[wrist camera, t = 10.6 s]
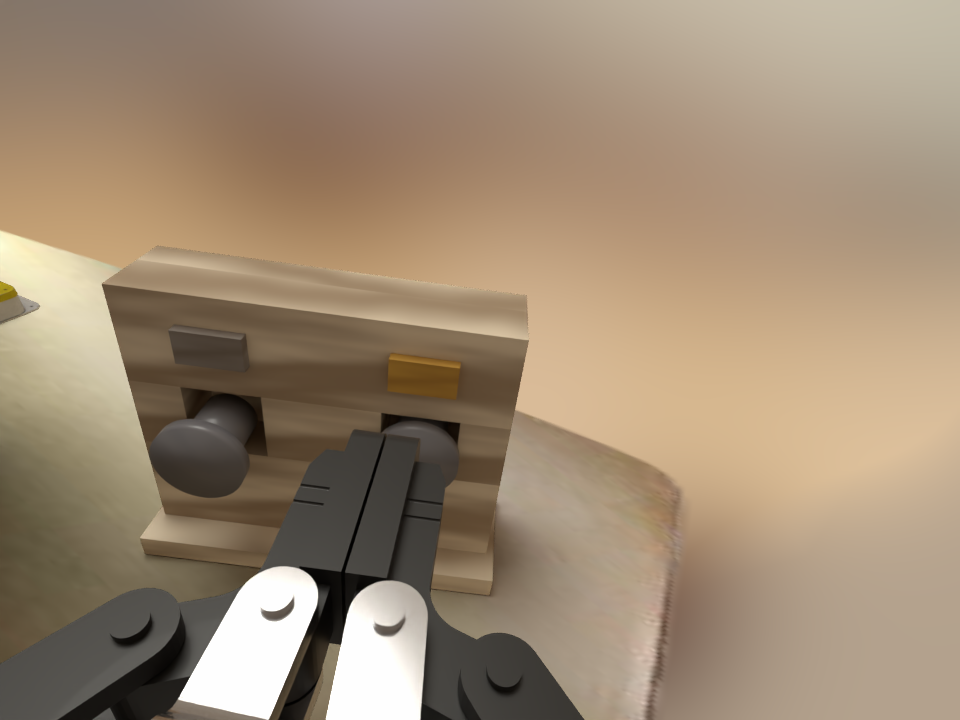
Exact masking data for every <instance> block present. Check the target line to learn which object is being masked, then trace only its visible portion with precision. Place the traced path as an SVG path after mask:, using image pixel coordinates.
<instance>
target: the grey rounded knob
mask: <svg viewBox="0 0 960 720" xmlns="http://www.w3.org/2000/svg"><path fill="white" fill-rule="evenodd" d="M448 425H449V422H448V421H440V420H433V419H425V418H417V417H409V416H402V415H400V417H399V421H398V423H396V424H393V425H391V426H389V427H388V428H386V429H385V430H384V431H383V432H382V433H386V434H387V436H388V434H393V435H400V436H407V437H415V438H420V440H421V442H420V455H419V462H424V463H431V464H439V465H440V467H441V470H442V473H443V476H444V479H445V482H446V487H447V486H449V485H450V484H451V483H452V482H453V480H454V479H455V477H456V475H457V472H458V466H459V456H460V455H459V449H458V446H457V444H456V442H455V441H454V439H453V438H452V437H451V436H450V435H449V434H448V433H447V432H448Z"/></svg>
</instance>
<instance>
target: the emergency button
mask: <svg viewBox="0 0 960 720" xmlns="http://www.w3.org/2000/svg"><path fill="white" fill-rule="evenodd" d="M39 307H40V305H39V304H38V303H36V302H34V301H31V300H29V299H26V298H24V297H22V296H19V295H17V292H16V290H15V289H14V287H12V286H11V285H8V284H6V283H3V282H1V281H0V324H2V323H4V322H7V321H10V320H12V319H15V318H18V317H20V316H23V315H26V314H28V313H31V312H33V311H35V310H37V309H39Z"/></svg>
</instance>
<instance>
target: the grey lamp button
mask: <svg viewBox="0 0 960 720" xmlns="http://www.w3.org/2000/svg"><path fill="white" fill-rule="evenodd" d="M257 422H258V417H257V414H256V411H255V409H254V408H253V407H252V406H251V404H249V403H248V402H247V401H246V400H244V399H243V398H241V397H239V396H236V395H233V394H226V393H223V394H217V395H214V396H212V397H211V398H210V399H209V400H208V401H207V402H206V404H205V405H204V406H203V407H202V409H201V410H200V411H199V413H198V414H197V415H196V417H195V418H194V419H183V420H177V421H174V422H172V423H170V424H168V425H166V426H165V427H164V428H163V429H162V430H161V432H160V433H159V434H158V435H157V436H156V438H155V439H154V440H153V442H152V443H151V445H150V449H149V456H150V461H151V463H152V465H153V467H154V469H155V470H156V472H157V473H158V474H159V475H160V476H161V477H162V478H163V479H164V480H165V481H166V482H167V483H169V484H170V485H172V486H173V487H175V488H176V489H178V490H180V491H182V492H185V493H187V494H190V495H194V496H198V497H203V498H219V497H224V496H227V495H230V494H232V493H234V492H235V491H236V490H237V489H238V488H239V487H240V486H241V484H242V482H243V480H244V479H245V477H246V475H247V473H248V471H249V468H250V459H249V455H248V453H247V451H246V449H245V447H244V445H245V443H246V442H247V440H248V438H249V437H250V435H251V434H252V432H253V430H254V429H255V427H256V425H257Z"/></svg>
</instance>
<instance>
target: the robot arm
mask: <svg viewBox="0 0 960 720" xmlns="http://www.w3.org/2000/svg"><path fill="white" fill-rule="evenodd" d="M420 442H421V440H420V438H415V437H407V436H400V435H393V434H388V436H387V434H386V433H379V432H372V431H365V430H358V429H354V430H353V431H352V433H351V436H350V438H349V441H348V443H347V446H346V448H345V451H338V450H330V449H326V450H325V451H323V452H322V453H321V454H320V455H319V456H318V457H317V458H316V459H315V460H313V461H312V462H311V463H310V464H309V466H308V468H307V470H306V473H305V475H304V477H303V479H302V481H301V485H300V487H299V488H298V490H297V492H296V495H295V497H294V499H293V503H291V505H290V508H289V510H288V512H287V514H286V516H285V519H284V521H283V523H282V525H281V527H280V530H279V532H278V534H277V536H276V538H275V541H274V543H273V545H272V547H271V549H270V552H269V554H268V556H267V558H266V560H265V562H264V564H263V566H262V567H261V569H260V570H259V571H258V573H257V574H256V575H255V576H254V577H252V578H251V579H250V580H249V581H247V582H246V584H244V585H243V586H241V587H239V588H238V589H236V590H234V591H232V592H229V593H226V594H224V595H220V596H216V597H210V598H205V599H199V600H193V601H187V602H181V603H177V601H176V599H175V598H174V597H173V596H172V595H171V594H170V593H168V592H166V591H164V590H161V589H156V588H143V589H137V590H133V591H129V592H127V593H124V594H122V595H120V596H118V597H116V598H114V599H112V600H110V601H109V602H107V603H105V604H103V605H102V606H100V607H98V608H97V609H95V610H93V611H91V612H90V613H88V614H86V615H84V616H83V617H81V618H79V619H77V620H76V621H74V622H72V623H70V624H69V625H67V626H65V627H64V628H62V629H60V630H58V631H57V632H55V633H53V634H51V635H50V636H48V637H46V638H44V639H43V640H41V641H39V642H37V643H36V644H34V645H32V646H31V647H29V648H27V649H25V650H24V651H22V652H20V653H18V654H17V655H15V656H13V657H11V658H10V659H8V660H6V661H4V662H3V663H1V664H0V720H310V717H311V715H312V712H313V709H314V707H315V704H316V701H317V698H318V696H319V693H320V690H321V687H322V684H323V663H324V659H325V656H326V653H327V649H328V646H329V643H332V644H340V645H341V649H340V654H339V659H338V663H337V668H336V673H335V678H334V683H333V688H332V693H331V698H330V703H329V708H328V713H327V718H326V720H584V719H583V717H582V716H581V715H580V713H579V712H578V710H577V709H576V708H575V706H574V705H573V703H572V702H571V701H570V699H569V698H568V697H567V695H566V694H565V692H564V691H563V690H562V688H561V687H560V686H559V684H558V683H557V681H556V680H555V679H554V677H553V676H552V675H551V673H550V672H549V670H548V669H547V668H546V666H545V665H544V663H543V662H542V661H541V659H540V658H539V657H538V655H537V654H536V652H535V651H534V650H533V649H532V648H531V647H530V646H529V645H528V644H527V643H526V642H525V641H523V640H521V639H520V638H518V637H516V636H513V635H510V634H506V633H492V634H488V635H485V636H483V637H481V638H479V639H477V640H476V639H474V638H472V637H470V636H468V635H466V634H464V633H462V632H460V631H458V630H456V629H454V628H453V627H451V626H450V625H448V624H447V623H446V622H445V621H444V620H443V619H442V618H441V617H440V616H439V615H438V613H437V612H436V610H435V608H434V606H433V604H432V601H431V597H430V591H431V585H432V579H433V572H434V565H435V559H436V553H437V546H438V540H439V534H440V527H441V519H442V511H443V503H444V496H445V488H446V482H445V479H444V476H443V473H442V470H441V467H440V465H439V464H431V463H424V462H419V455H420Z"/></svg>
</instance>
